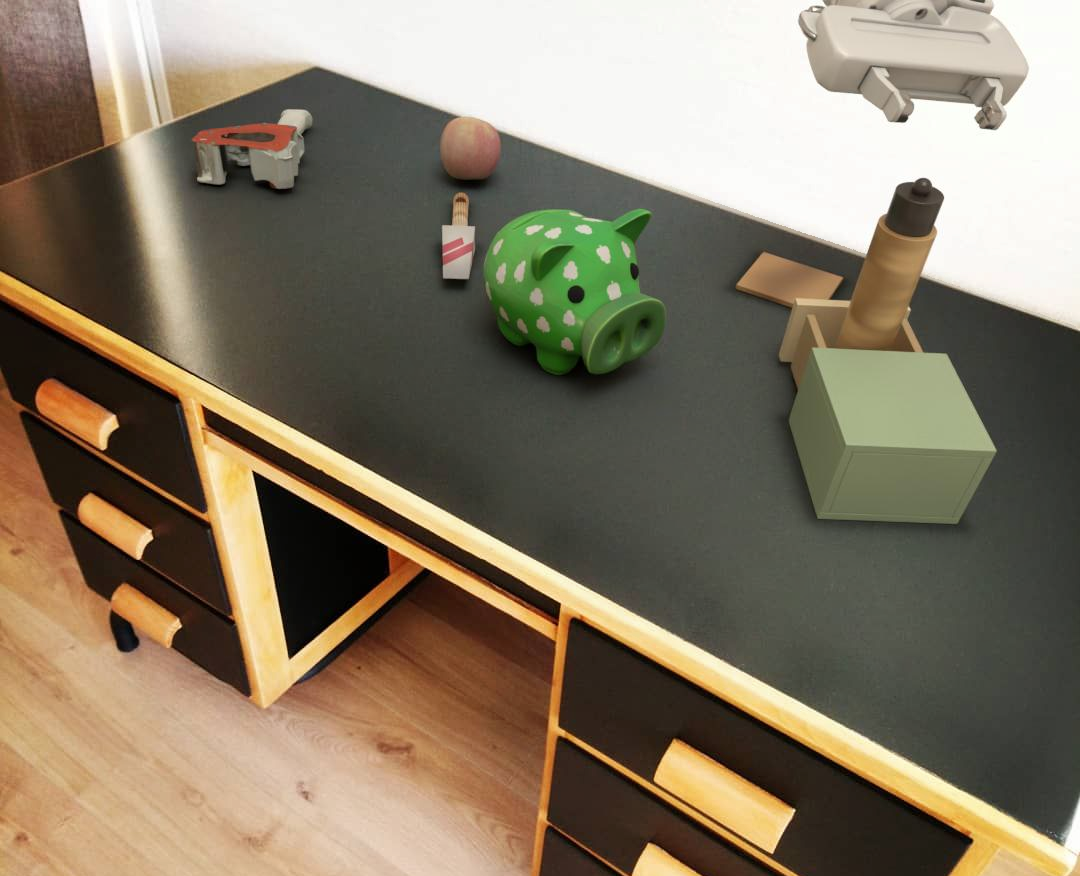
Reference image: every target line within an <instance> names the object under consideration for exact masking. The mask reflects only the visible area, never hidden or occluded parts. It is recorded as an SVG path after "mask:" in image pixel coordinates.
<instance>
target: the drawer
mask: <svg viewBox="0 0 1080 876" xmlns="http://www.w3.org/2000/svg"><path fill="white" fill-rule="evenodd" d="M850 301H851V300H843V299H841V300H839V299H830V300H822V299H802V298H795V301H794V304H793V308H791V311H790V314H789V318H788V322H787V325H786V327H785V328H786V329H785V332H784V335H783V338H782V342H781V346H780V349H779V352H778V357H779V361H780V362H785V363H791V365H790V370H791V373H792V375H793V379H794V381H795V385H796V388H797V390H798V389H799V386H800V383H801V380H802V377H803V374H804V371H805V368H806V365H807V361H808V358H809V355H810V352H811V349H812V348H835V345H836V342H837V339H838V336H839V333H840V331H841V328H842V325H843V322H844V319H845V316H846V313H847V310H848V307H849V304H850ZM911 311H912V309H911V308H910V305H909V306H908V308H907V311H906V314H905V316H904V319H903V321H902V324H901V326H900V329H899V331H898V334H897V336H896V339H895V341H894V344H893V346H892V349H891V351H898V352H919V353H924V351H923V348H922V347H921V345H920V342H919V341H918V339H917V337H916V335H915V333H914V330H913V329H912V326H911V325H910V322H909V321H908V319H909V316H910V313H911Z"/></svg>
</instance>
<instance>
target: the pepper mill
mask: <svg viewBox="0 0 1080 876" xmlns="http://www.w3.org/2000/svg"><path fill="white" fill-rule="evenodd" d="M944 201H945V195H944V193H943V192H942V191H941V190H940V189H938V188H937V187H935V186H933V183H932V181H931V180H930V179H929V178H926V177H920V178H917V179H916V180H915V181H905V182H901V183H899V184H897V186H895V190H894V192H893V195H892V198H891V201H890V204H889V207H888V209H887V212H886V213H883V214H882V215H881V216H880V217H879V218H878V220H877V222H876V226H875V229H874V232H873V235H872V237H871V239H870V240H871V241H870V243H869V246H868V249H867V252H866V255H865V258H864V261H863V263H862V266H861V270H860V273H859V275H858V277H857V278H858V279H857V281H856V284H855V287H854V290H853V292H852V296H851V299H850V300H849V301H850V304H849V307H848V310H847V313H846V316H845V319H844V322H843V325H842V328H841V331H840V333H839V336H838V339H837V342H836V345H835V348H834V349H855V350H876V351H891V349H892V346H893V344H894V341H895V339H896V336H897V334H898V331H899V329H900V326H901V324H902V321H903V319H904V316H905V314H906V311H907V308H908V306H909V307H910V303H911V301H912V298H913V296H914V293H915V291H916V288H917V286H918V283H919V281H920V279H921V275H922V274H923V271H924V268H925V265H926V263H927V260H928V258H929V256H930V254H931V250H932V248H933V245H934V243H935V241H936V237H937V235H938V229H937V227H936V226H935V224H936V221H937V218H938V216H939V213H940V211H941V208H942V206H943V204H944Z"/></svg>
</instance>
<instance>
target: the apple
mask: <svg viewBox="0 0 1080 876" xmlns="http://www.w3.org/2000/svg"><path fill="white" fill-rule="evenodd" d="M501 145H502V144H501V139H500V135H499V133H498V131H497V129H496V128H495V127H494V125H492V124H491V123H490V122H488V121H485V120H483V119H480V118H476V117H473V116H460V117H456V118H455V117H454V118H453V119H452V120H450V121H449V122H448V123H447V124H446V126H445V127H444V130H443V132H442V134H441V137H440V144H439V153H440V154H439V155H440V158H441V162H442V165H443V167H444V169H445V171H446V172H447V174H449V175H450V176H451V177H452V178H454V179H456V180H462V181H463V180H465V181H472V180H485V179H487V178H489V177H490V176H491V175H492V174H493V173H494V171H495V169H496V168H497V166H498V163H499V160H500V157H501V151H502V149H501V148H502V146H501Z"/></svg>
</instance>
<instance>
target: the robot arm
mask: <svg viewBox="0 0 1080 876" xmlns="http://www.w3.org/2000/svg"><path fill="white" fill-rule="evenodd" d="M821 1H822V2H823V3H824V5H825V6H823V5H810V6H809V7H808V9H805V10H802V11H800V13H799V15H798V19H797V23H798V26H799V28H800V30H801V32H802V34H803V36H805V38H806V39H807V40H806V47H805V49H806V53H807V57H808V61H809V65H810V68H811V72H812V74H813V77H814V79H815V81H816V83H817V84H818V85H819V86H820V87H822V88H823V89H824V90H826V91H828V92H830V93H841V94H852V95H853V94H854V95H861V96H862V97H863V99H865V100H866V101H868V102H869V103H870V104H872V105H873V106H874V107H876V108H877V109H879V110H880V111H882V112H883V115H884V116H885V118H886V120H887V122H888V123H899V124H905V123H907V121H908V120H909V116H911V115H912V114H913V113H914V111H915V103H914V101H912V100H921V101H922V100H923V101H933V102H945V103H957V104H969V105H974V106H975V107H976V108H980V110H978V111H977V113H976V114H975V116H974V117H973V118H974V120H975V122H976V124H978V128H979V129H981V130H990V131H997V130H998V129H999V128H1000V127H1001V126H1002V125H1003V123H1004V121H1005V120H1006V119H1007V110H1006V108H1005V107H1004V106H1006V105H1007V104H1008V103H1009V102H1010V101H1011V100H1012V99H1013V97H1014V96H1015V95H1016V93H1017V92H1018V91H1019V89H1020V88H1021V87H1022V85H1023V84H1024V82H1025V81H1026V79H1027V77H1028V73H1029V71H1030V70H1029V69H1030V67H1029V63H1028V61H1027V59H1026V57H1025V55H1024V53H1023V51H1022V50H1021V48H1020V46H1019V44H1018V43H1017V41H1016V40H1015V38H1014V36H1013V35H1012V34H1011V32H1010V31H1009V30H1008V27H1007V26H1005V24H1004V23H1003V22H1002V21H1001V20H999V19H998V18H997V17H995V16H994V15H992V14H991V13H992V11H993V10H994V7H995V3H994V1H993V0H821Z"/></svg>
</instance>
